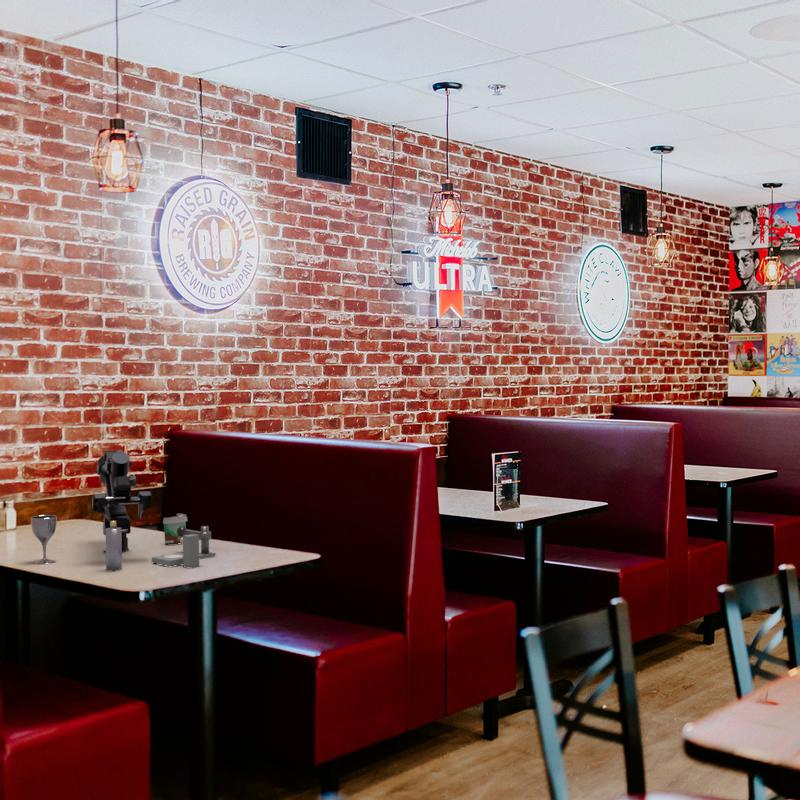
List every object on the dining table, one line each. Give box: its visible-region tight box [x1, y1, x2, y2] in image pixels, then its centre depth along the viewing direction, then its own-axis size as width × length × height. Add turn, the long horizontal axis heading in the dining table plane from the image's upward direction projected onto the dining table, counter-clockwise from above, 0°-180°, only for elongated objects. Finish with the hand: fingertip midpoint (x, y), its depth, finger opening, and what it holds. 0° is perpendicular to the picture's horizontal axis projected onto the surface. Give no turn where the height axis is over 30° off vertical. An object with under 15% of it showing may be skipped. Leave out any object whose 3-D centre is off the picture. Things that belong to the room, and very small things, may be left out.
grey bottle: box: [105, 520, 123, 571], centre depth 314 cm, size 5×5×15 cm
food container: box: [162, 513, 188, 545], centre depth 364 cm, size 12×6×10 cm, turn 168°
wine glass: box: [30, 514, 58, 565], centre depth 328 cm, size 8×8×15 cm
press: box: [151, 534, 217, 568], centre depth 326 cm, size 16×22×10 cm
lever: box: [177, 525, 212, 553], centre depth 340 cm, size 17×4×9 cm, turn 48°
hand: (124, 519), depth 323 cm, fingers open, 9 cm apart
